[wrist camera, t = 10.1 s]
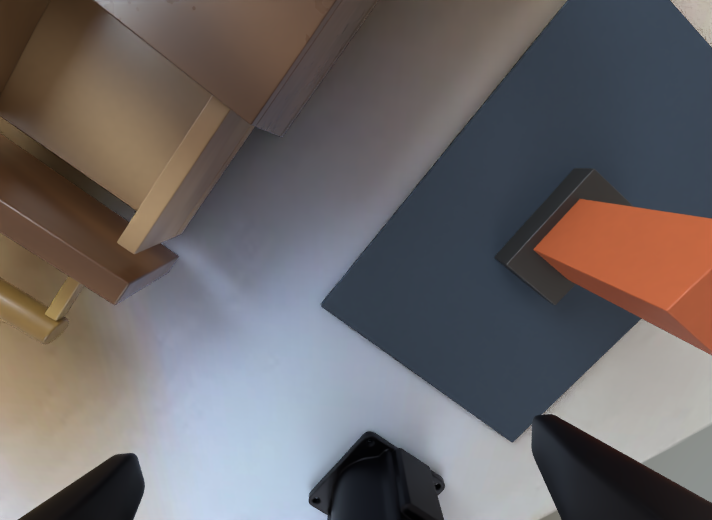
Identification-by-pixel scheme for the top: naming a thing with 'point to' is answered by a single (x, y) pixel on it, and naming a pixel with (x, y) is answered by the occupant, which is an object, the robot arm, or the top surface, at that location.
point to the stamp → (618, 256)
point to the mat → (524, 196)
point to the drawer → (99, 153)
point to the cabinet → (248, 47)
